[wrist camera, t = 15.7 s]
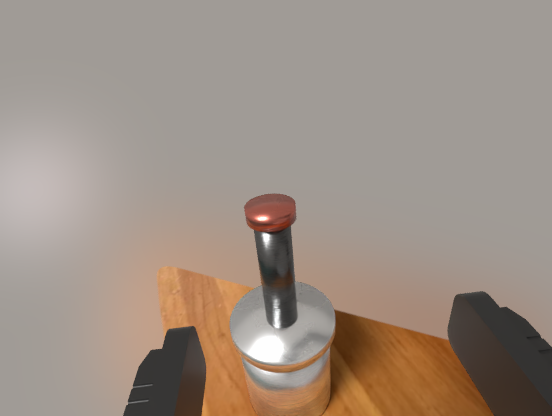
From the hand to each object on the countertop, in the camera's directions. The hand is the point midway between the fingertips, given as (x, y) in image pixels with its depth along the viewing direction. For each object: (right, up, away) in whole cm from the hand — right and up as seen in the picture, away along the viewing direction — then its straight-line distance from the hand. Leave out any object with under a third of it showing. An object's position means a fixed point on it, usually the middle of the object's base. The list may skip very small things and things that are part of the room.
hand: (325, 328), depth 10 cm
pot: (0, -16, +27) cm, 31 cm away
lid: (-1, -8, +22) cm, 23 cm away
